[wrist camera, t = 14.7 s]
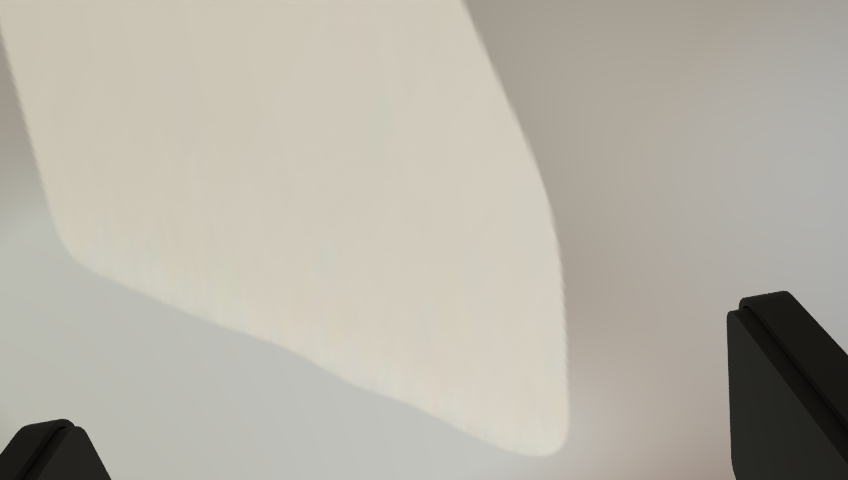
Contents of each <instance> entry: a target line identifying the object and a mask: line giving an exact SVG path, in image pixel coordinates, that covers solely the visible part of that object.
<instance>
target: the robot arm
mask: <svg viewBox="0 0 848 480" xmlns="http://www.w3.org/2000/svg"><path fill="white" fill-rule="evenodd" d="M727 343H728V371H729V401H730V402H729V403H730V432H731V459H732V466H733V471H734V474H735V477H736V480H848V355H847V354H846V353H845V352H844V350H842V348H841V347H840V346H839V345H838V344H837V343H836V342H835V341H834V340H833V339H832V338H831V336H830V335H829V334H828V333H827V332H826V331H825V330H824V329H823V328H822V327H821V326H820V325H819V324H818V322H817V321H816V320H815V319H814V318H813V317H812V316H811V315H810V314H809V313H808V312H807V311H806V310H805V309H804V308H803V306H802V305H801V304H800V303H799V302H798V301H797V300H796V299H795V298H794V297H793V296H792V295H791V294H790V293H789V292H788V291H779V292H774V293H768V294H763V295H757V296H752V297H746V298H742V299H741V300H740V303H739V310H734V311H730V312H728V315H727ZM0 480H111V478H110V476H109V475H108V473H107V471H106V469H105V467H104V465H103V463H102V461H101V459H100V458H99V456H98V454H97V452H96V450H95V448H94V446H93V444H92V442H91V441H90V439H89V437H88V435H87V433H86V432H85V430H84V429H82V428H81V427H77V426H74V424H73V423H72V422H70V421H69V420H66V419H58V420H53V421H48V422H42V423H36V424H30V425H27V426H24V427H22V428H21V429H20V430H19V431H18V432H17V433H16V435H15V436H14V437H13V438H12V440H11V441H10V443H9V444H8V445H7V447H6V448H5V449H4V450H3V452H2V453H1V454H0Z"/></svg>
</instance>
